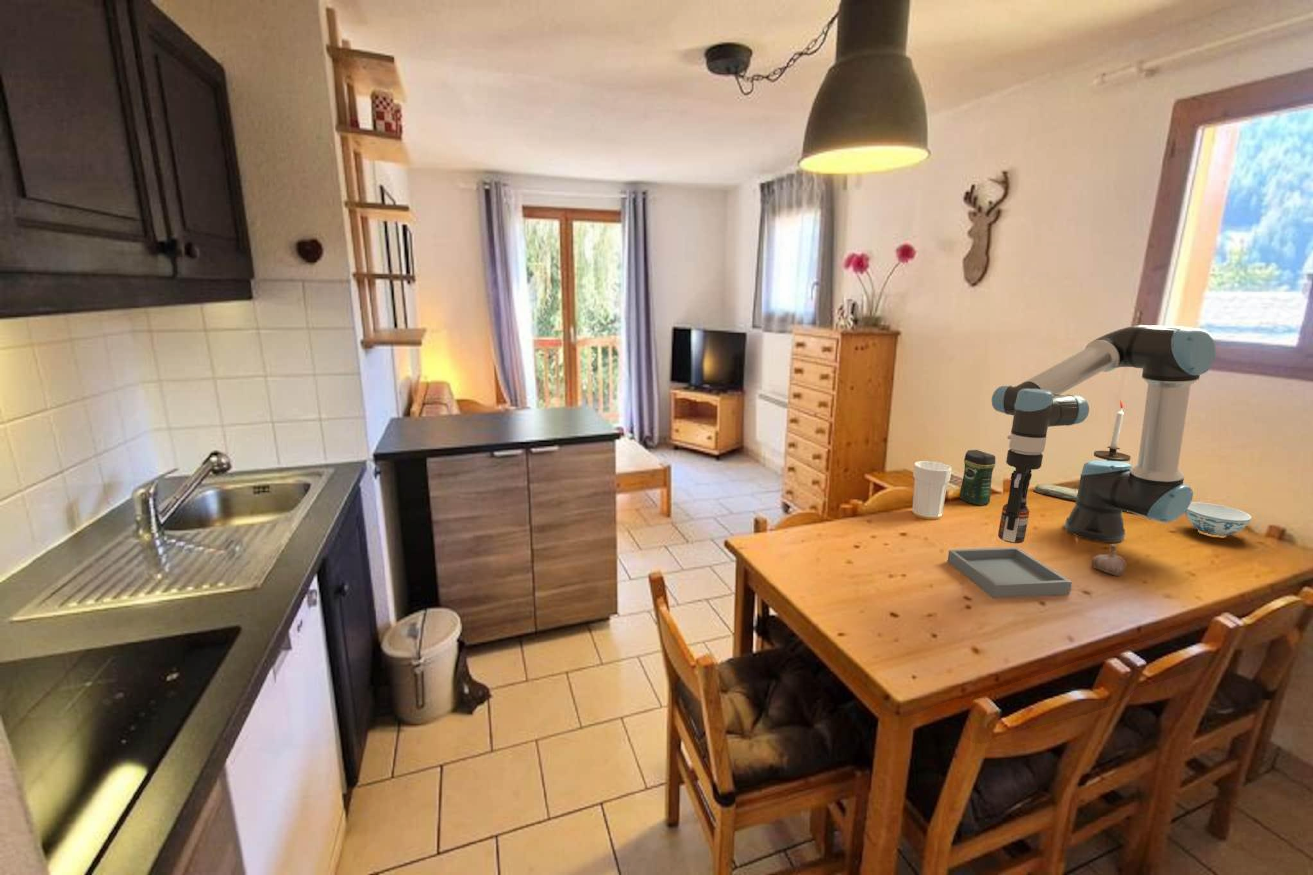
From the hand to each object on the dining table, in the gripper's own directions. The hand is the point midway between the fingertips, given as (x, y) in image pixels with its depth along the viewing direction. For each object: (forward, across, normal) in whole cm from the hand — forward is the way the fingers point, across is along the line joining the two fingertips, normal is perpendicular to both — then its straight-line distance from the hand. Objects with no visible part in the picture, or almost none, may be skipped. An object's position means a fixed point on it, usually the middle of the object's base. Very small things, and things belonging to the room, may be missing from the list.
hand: (1011, 536), depth 151 cm
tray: (+12, 0, 0) cm, 12 cm away
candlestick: (+11, -102, +16) cm, 104 cm away
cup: (+12, -33, -29) cm, 46 cm away
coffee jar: (+12, -58, -20) cm, 62 cm away
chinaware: (+11, -74, +44) cm, 87 cm away
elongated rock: (+12, -85, +13) cm, 86 cm away
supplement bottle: (+1, 0, 0) cm, 1 cm away
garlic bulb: (+12, -22, +21) cm, 32 cm away
